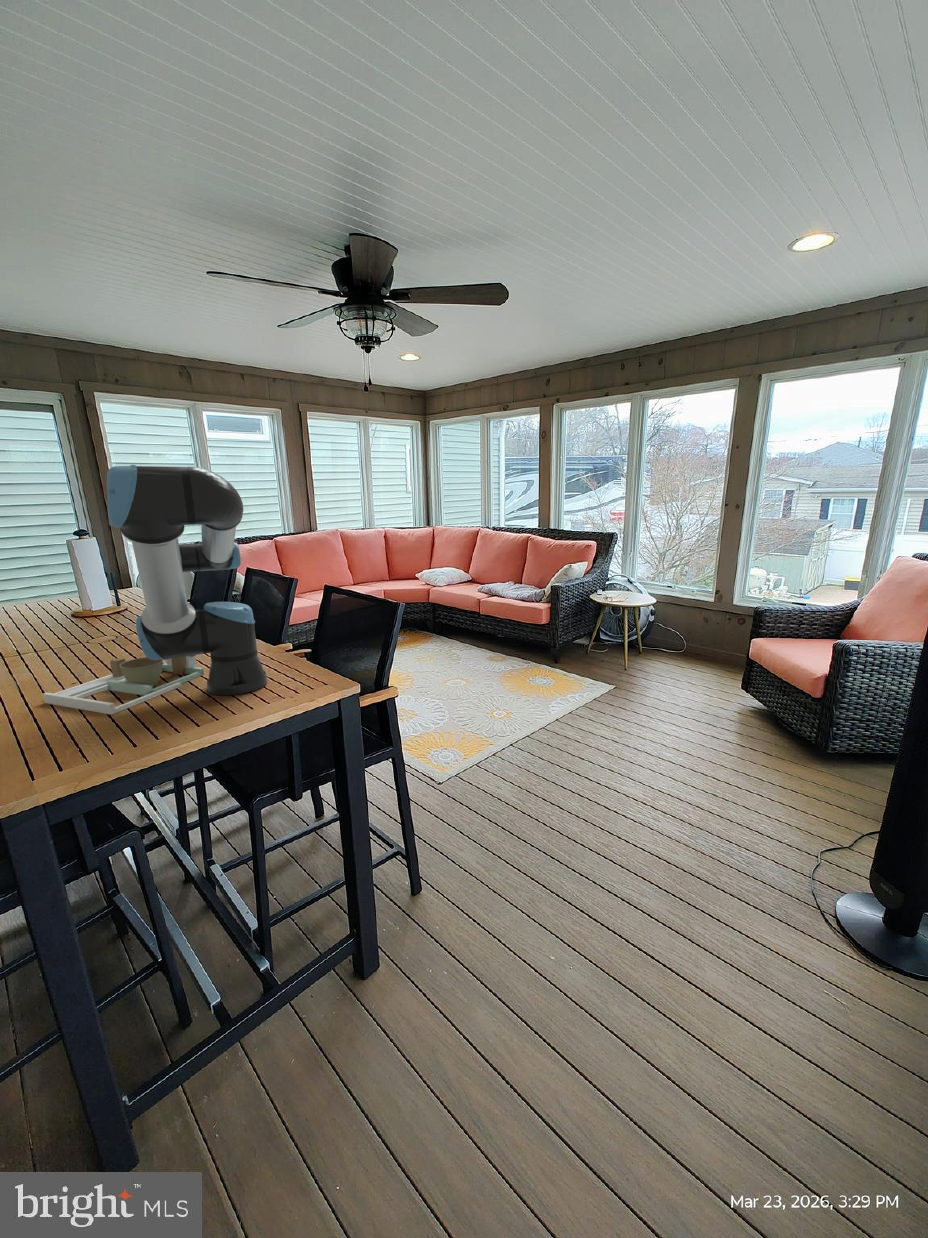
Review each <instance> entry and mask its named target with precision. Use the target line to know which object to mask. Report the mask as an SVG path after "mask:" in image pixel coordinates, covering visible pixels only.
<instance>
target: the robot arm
mask: <svg viewBox="0 0 928 1238" xmlns="http://www.w3.org/2000/svg"><path fill="white" fill-rule="evenodd" d="M106 489H107V490H106V491H107V493H106V495H107V496H106V497H107V514H108V525H109V526H110V527H112V528H117V529H119V530H120V533H121V534H122V536H123V537H124V538H126V539H127V540H128V541H130V542H131V544H132V548H133V553H134V558H135V561H136V566H137V571H138V575H139V580H140V584H141V589H142V594H143V598H144V599H143V600H144V602H145V608H144V609H143V611H142V613H141V615H139V616H137V617H136V619H135V627H136V634H137V635H136V636H137V638H138V641H139V646H140V648H141V650H142V652H143V654H144V656H145V657H147V658H148V659H151V660H162V659H163V661H164V660H165V661H166V663H167V665H172V660H171V658H178V657H185V656H186V662H187V668H191V667H197V665H198V664H197V658H196V656H198V655H207V654H210V655H209V656H210V661H211V662H210V667H209V674H208V678H207V679H206V687H207V692H208V693H210V694H212V695H216V696H235V695H236V696H237V695H243V694H246V693H251V692H254V691H257V690H259V689H261V688H263V687H265V686H266V685H267V684H268V676H267V675H268V674H267V672H266V671H265V670H264V668H263V665H262V662H261V660H260V658H259V653H258V647H257V639H256V638H257V637H256V631H255V628H256V627H255V624H256V620H255V619H254V612H253V609H252V608H251V606H250V605H248V604H245V603H241V602H236V601H235V602H234V601H233V602H232V601H213V602H210V601H209V602H206V603H205V604H204V605H203V609H195V608H194V606H193V605H192V604H191V603H189V602H188V598H187V597H188V596H187V590H186V584H185V578H184V573H193V572H205V571H221V570H222V571H223V570H225V571H228V570H232V569H233V570H234V569H238V568H240V567H241V565H242V562H241V553H240V546H239V544H238V543H237V542H235V537H236V530H237V527H238V526H239V524H241V521H242V520H243V515H244V503H243V500H242V498H241V495H240V494H239V492H238V490H237V489H236V488H235V487H234V486H233V485H232V484H231V482H229V481H228V480H227V479H226V478H225V477H223V476H221V475H219V474H218V473H216V472H214V471H212V470H209V469H207V468H202V467H198V466H157V465H156V466H154V465H151V466H150V465H149V466H146V465H142V466H141V465H137V464H130V465H115V466H114V465H113V466H112V467H110V468H109V469H108V470H107V473H106ZM195 525H201V526H200V528H201V530H200V531H201V543H184V544H183V543H179V538H180V537H181V536H182V535H183V533H184V531H185V526H195Z"/></svg>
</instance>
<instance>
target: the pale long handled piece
mask: <svg viewBox="0 0 928 1238" xmlns="http://www.w3.org/2000/svg"><path fill="white" fill-rule="evenodd" d="M123 662H126V659H125V658H123V657H122V658H121V657H117V658H114V659H110V660H109V663H110V669H111V674H112V675H113V676H110V677H107V678H104V679H101V680H98V681H95V682H92V683H89V684H86V685H83V686H80V687H77V688H74V689H71V690H68V691H65V692H62V693H59V694H60V695H66V696H75V695H78V694H81V693H84V692H87V691H90V690H93V689H95V688H98V687H101V686H104V685H107V681H109V680H115V681H118V680H121V679H124V678H125V677H124V676H123V674H122V672H121V669H120V664H121V663H123Z"/></svg>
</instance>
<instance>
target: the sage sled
mask: <svg viewBox="0 0 928 1238" xmlns="http://www.w3.org/2000/svg"><path fill="white" fill-rule="evenodd" d="M171 660H172V665H167V662H165V663H163V665H162V671H161V673H163V672H170V673H173V674H174V675H179V676H183V675H185V676H183V677H180V678H178V679H175V680H172V681H169V682H167V683H164V684H162V685H159V686H157V687H152V686H150V685H143V684H136V683H129V682H127V680H123V681H115V680H109V681H107V686H108V689H107V690H108V691H112V692H120V693H126V694H133V695H138V696H145V695H148V694H150V693H153V692H155V691H158V690H160V689H163V688H165V687H168V686H170V685H173V684H175V683H178V682H179V683H181V684H184V683H187V682H190V681H191V680H193V679H196V678H199V677H201V676H203V675H205V671H204V667H198V666H193V667H191V668H187V662H186V656H185V657H178V658H171Z"/></svg>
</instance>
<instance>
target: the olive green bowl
mask: <svg viewBox="0 0 928 1238" xmlns="http://www.w3.org/2000/svg"><path fill="white" fill-rule="evenodd" d="M163 662H164V660H163V659H162V660H151V659H148V658H147V657H146V656H145V657H139V658H133V659H130V660H125V662H123V663H121V664H120V669H121V672H122V674H123V676H124V677H125V679H126V680H127V682H129V683H136V684H143V685H150V686H152V688H155V686H156V685H157V683H158V682H159V679H160V676H161V674H162V672H161V671H162V665H163V664H164V663H163Z"/></svg>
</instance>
